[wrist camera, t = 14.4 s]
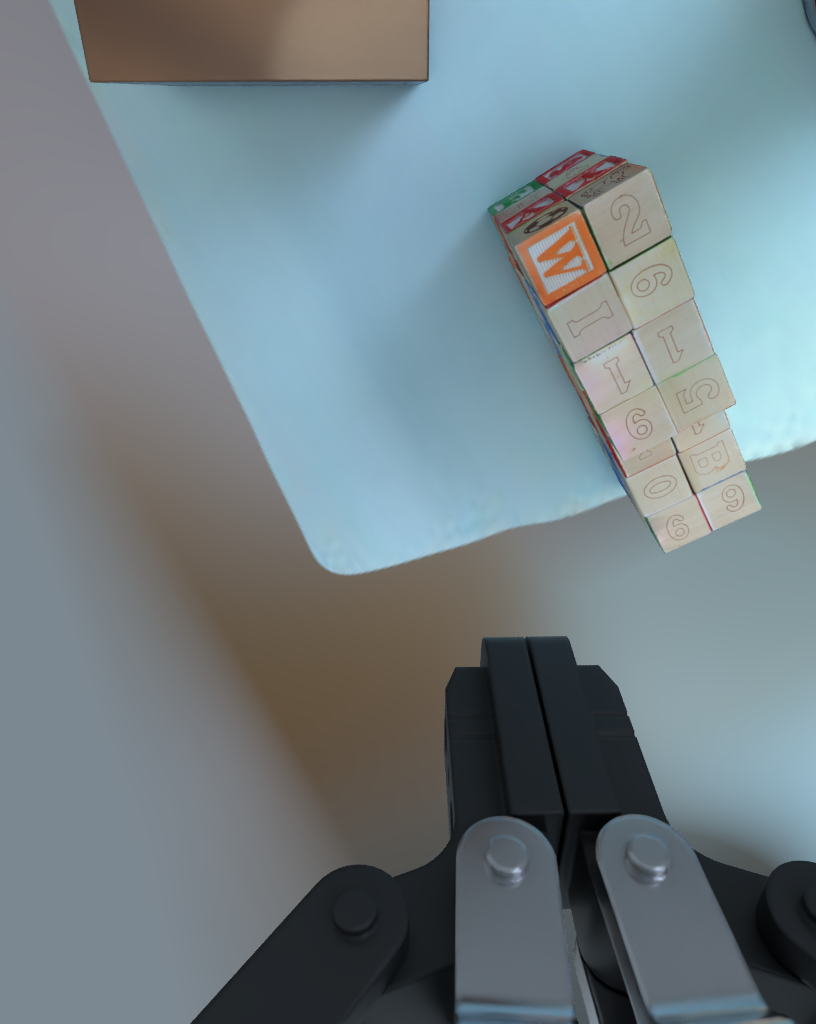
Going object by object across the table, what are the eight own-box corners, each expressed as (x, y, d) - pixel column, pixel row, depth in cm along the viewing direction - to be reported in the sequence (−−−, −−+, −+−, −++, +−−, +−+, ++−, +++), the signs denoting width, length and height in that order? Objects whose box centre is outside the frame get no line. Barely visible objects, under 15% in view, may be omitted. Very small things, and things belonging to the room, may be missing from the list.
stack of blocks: (703, 443, 49) (788, 539, 38) (619, 484, 50) (679, 587, 40) (582, 145, 39) (651, 164, 29) (482, 207, 41) (514, 246, 30)
